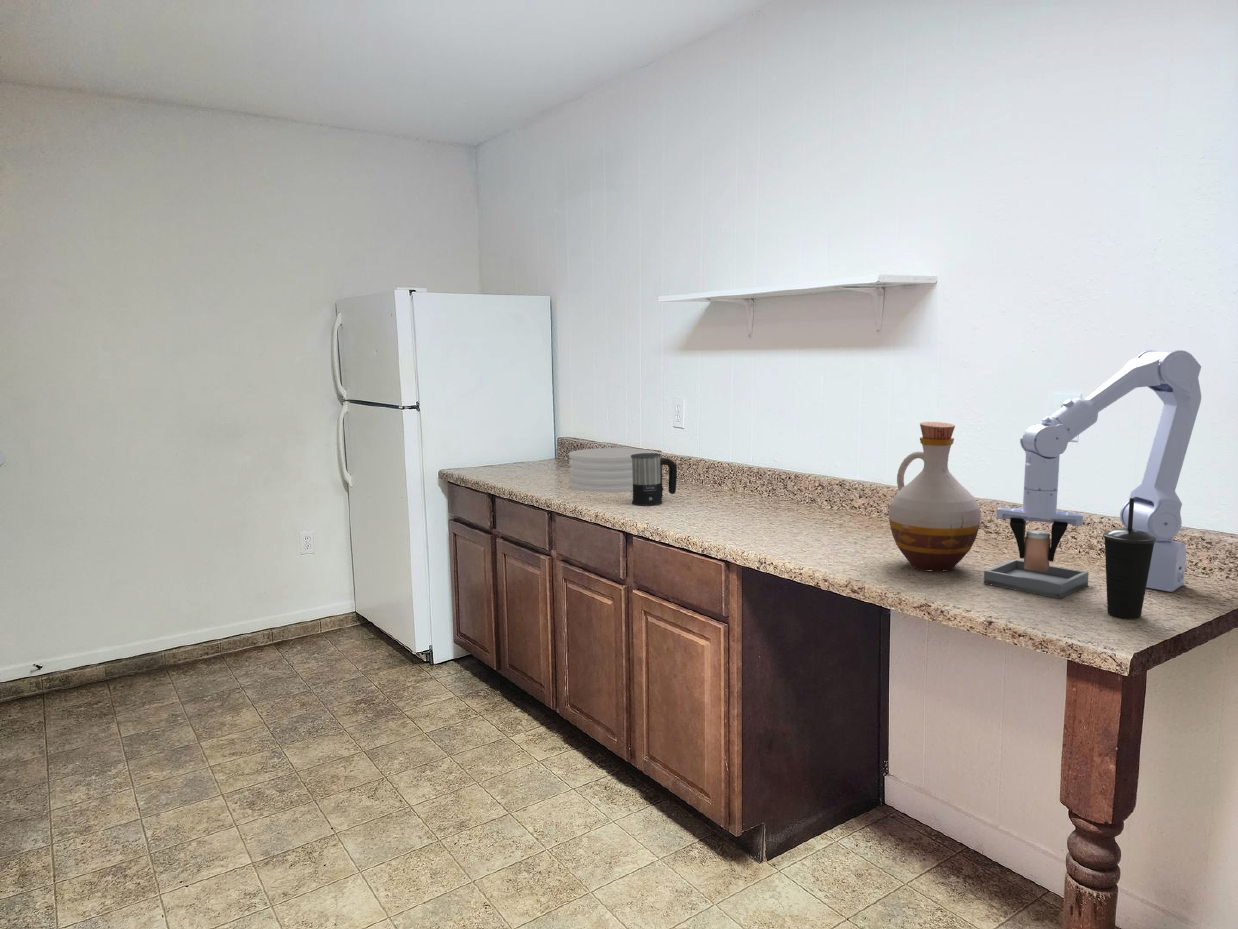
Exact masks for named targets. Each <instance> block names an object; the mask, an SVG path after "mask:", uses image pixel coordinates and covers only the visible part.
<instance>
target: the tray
mask: <svg viewBox="0 0 1238 929" xmlns="http://www.w3.org/2000/svg"><path fill="white" fill-rule="evenodd" d="M1023 565H1024V560H1023V559H1022V560H1021V559H1015V558H1014V559H1010V560H1008V561H1006V562H1003V563H1001V564H998V565H995V566H994V567H991V568H987V569H986V570H983V584H984V583H987V584H986V585H989V584H992V585H991V586H994V585H996V586H995V587H999V588H1000V587H1001V588H1005V589H1010V590H1014V589H1016V590H1015V591H1019V590H1020V591H1021V592H1024V593H1030V594H1035V595H1040V596H1045V597H1050V598H1055V599H1062V598H1065V597H1066V596H1068V595H1071V594H1073V593H1075V592H1076V591H1078V590H1080V589H1084V587H1087V586H1088V585H1089V571H1083V570H1078V569H1074V568H1073V569H1072V568H1066V567H1061V566H1056V565H1051V564H1049V571H1044V572H1039V571H1031V570H1026V569H1024V568H1023Z"/></svg>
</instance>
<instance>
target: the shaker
mask: <svg viewBox="0 0 1238 929" xmlns="http://www.w3.org/2000/svg"><path fill="white" fill-rule="evenodd" d="M1050 548H1051V533H1050V532H1047V531H1043V530H1027V531H1026V532H1025V548H1024V559H1023V561H1024V565H1023V568H1024V569H1026V570H1031V571H1039V572H1044V571H1049V565H1050V562H1051V561H1049V554H1050Z"/></svg>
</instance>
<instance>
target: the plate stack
mask: <svg viewBox="0 0 1238 929" xmlns="http://www.w3.org/2000/svg"><path fill="white" fill-rule="evenodd" d="M640 453H652V452H651V451H650V450H648V449H643V448H631V447H630V448H629V447H627V448H626V447H598V448H596V447H595V448H585V449H578V450H574V451H570V452H569V453H568V458H569V462H568V464H569V466H570V467H569V468H568V469H569V470H568V472H569V473H570V474H569V481H570V482H569V488H570V489H573V490H577V491H582V492H591V493H593V492H594V493H624V492H633V474H632V458H631V455H633V454H640Z"/></svg>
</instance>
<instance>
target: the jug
mask: <svg viewBox="0 0 1238 929" xmlns="http://www.w3.org/2000/svg"><path fill="white" fill-rule="evenodd" d="M919 426H920V432H921V435H922V436H921V437H919V441H920V444H921V445H922V451H919V450H918V451H913V452H911V453H910V454H908V455H906V457H905V458H904V459H903V460H902V462H901V464H899V468H898V470H897V474H896V475H897V476H896V485H897V489H898V491H897V493H896V494H895V495H894V497H893V499H892V500H891V502H890V504H889V508H888V521H889V525H890V526H889V528H890V530H891V534H892V537H893V541H894V543H895V544H896V547H897V548H898V549H899V551H900V552H901V554H902V555H903V557H905V559H906V560H907V562H908V563H909V564H910V566H911V567H912V568H915V569H917V568H918V569H917V570H920V569H921V571H925V570H932V571H931V572H944V571H943V570H948V571H951V570H953V569H954V568H955V567H956V566H957V565H958V564H959V563H960V562H961V561H962V560H963V559H964V558H965V556H966V555H968V552H970V551H971V549H972V547H973V545H974V543H975V541H976V539H977V537H978V533H979V529H980V527H981V519H982V517H981V516H982V513H981V509H980V508H981V507H980V505H979V503H978V501H977V500H976V498H975V497H974V495H972V494H971V492H970V491H968V489H966V488H965V487H964V486H963V485H962V484H961V483H960V482H959V481H958V480H957V478H956V477H955V476H954V475H953V474H952V473H951V472H950V470H949V465H948V462H949V455H950V452H951V447H952V446H953V444H954V440H955V437H952V436H953V433H954V431H955V428H956V425H955V424H953V423H948V422H947V423H946V422H942V421H941V422H940V421H923V422H922V421H921V422H919ZM916 459H921V460H922V461H923V468H922V470H921V471H920V472H919V473H918V474H917V475H916V476H915V477H914V478H913V479H912V480H911V481H910V482H908V483H907V484H906V485H905V483H904V482H905V481H904V479H905V474H906V470H907V468H908V467H909V466H910V464H911V463H912V462H913V461H914V460H916Z"/></svg>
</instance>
